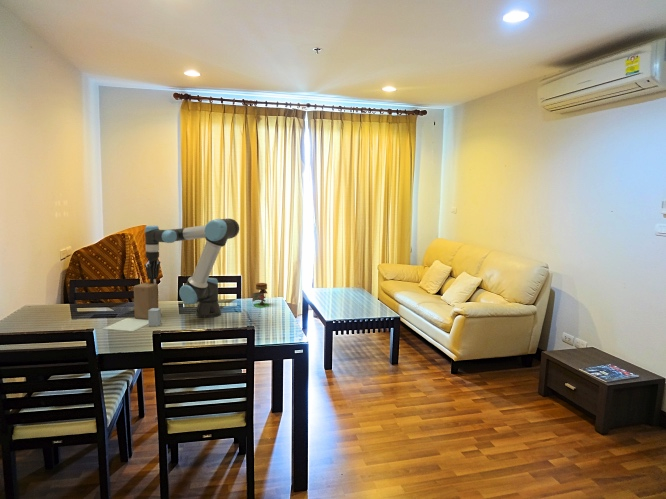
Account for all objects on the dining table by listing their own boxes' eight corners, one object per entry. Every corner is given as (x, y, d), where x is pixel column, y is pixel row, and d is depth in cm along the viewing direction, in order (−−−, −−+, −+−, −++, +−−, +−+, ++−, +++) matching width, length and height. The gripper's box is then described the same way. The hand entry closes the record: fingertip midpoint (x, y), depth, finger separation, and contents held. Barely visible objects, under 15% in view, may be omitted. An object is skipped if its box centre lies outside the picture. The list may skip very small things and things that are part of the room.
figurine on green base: (274, 304, 288) (274, 283, 287) (263, 308, 277) (264, 286, 275) (259, 302, 293) (259, 281, 291) (249, 306, 282) (249, 284, 280)
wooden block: (149, 320, 244) (148, 286, 242) (133, 319, 246) (132, 285, 244) (159, 315, 254) (158, 283, 252) (144, 314, 256) (143, 282, 254)
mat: (154, 321, 243) (154, 320, 243) (132, 331, 223) (132, 330, 223) (126, 319, 246) (126, 318, 246) (102, 329, 226) (102, 328, 226)
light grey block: (161, 323, 239) (160, 308, 238) (157, 326, 234) (157, 310, 233) (152, 323, 239) (152, 308, 238) (148, 326, 234) (148, 310, 233)
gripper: (153, 249, 260) (154, 287, 262) (139, 252, 247) (141, 291, 250) (164, 250, 258) (165, 287, 261) (151, 252, 246) (152, 292, 248)
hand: (153, 289), depth 255 cm, fingers closed
